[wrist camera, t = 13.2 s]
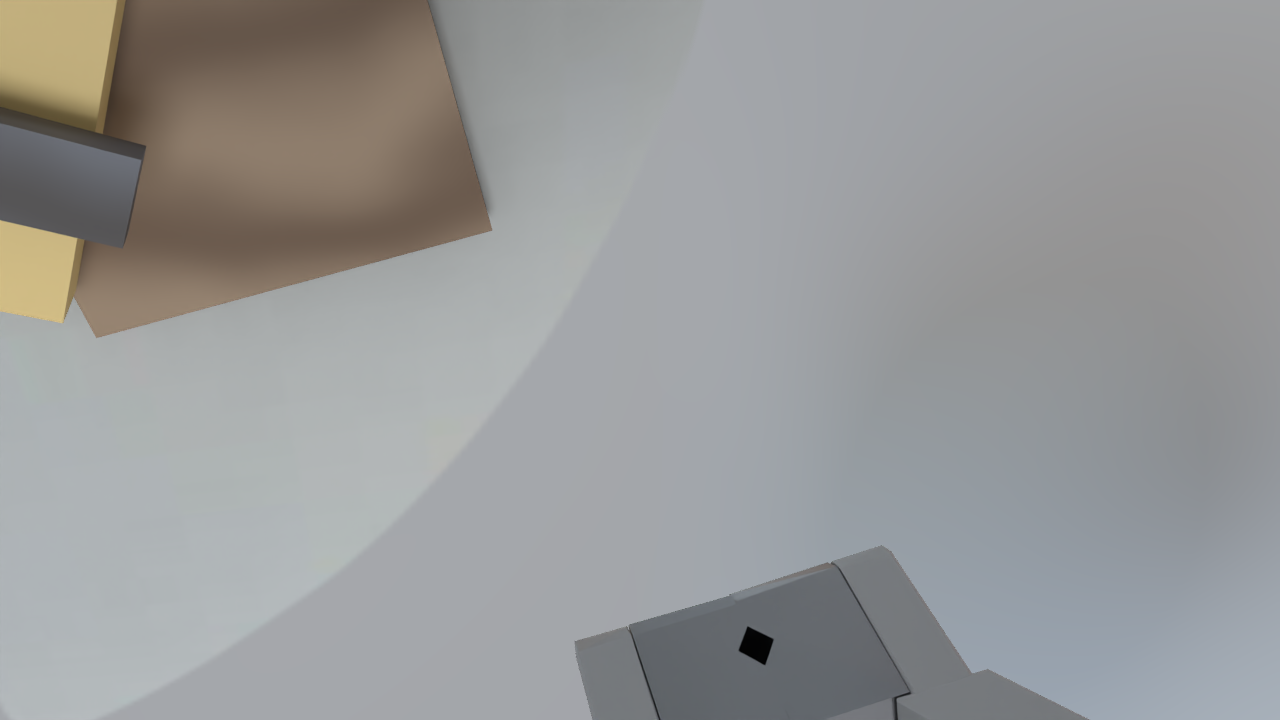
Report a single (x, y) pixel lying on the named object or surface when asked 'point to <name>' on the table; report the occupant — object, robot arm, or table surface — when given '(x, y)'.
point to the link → (59, 91)
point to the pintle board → (248, 154)
